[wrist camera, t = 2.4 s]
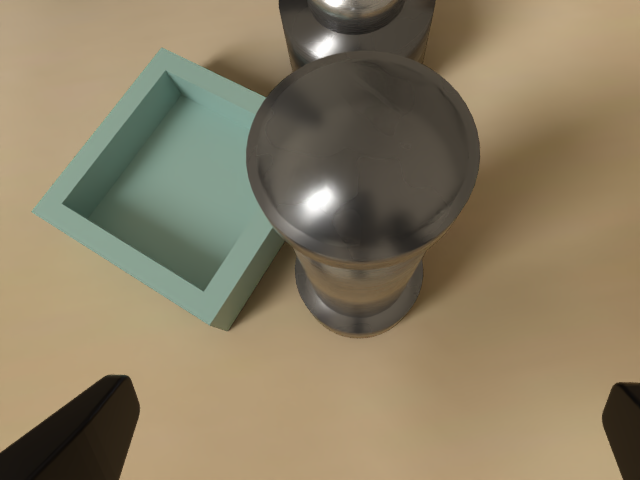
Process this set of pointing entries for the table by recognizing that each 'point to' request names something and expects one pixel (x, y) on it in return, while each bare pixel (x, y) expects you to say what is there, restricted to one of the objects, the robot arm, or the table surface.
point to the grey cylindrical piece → (362, 180)
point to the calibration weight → (355, 27)
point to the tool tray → (172, 190)
